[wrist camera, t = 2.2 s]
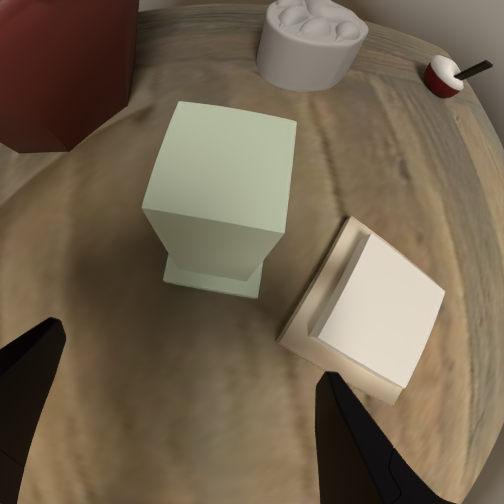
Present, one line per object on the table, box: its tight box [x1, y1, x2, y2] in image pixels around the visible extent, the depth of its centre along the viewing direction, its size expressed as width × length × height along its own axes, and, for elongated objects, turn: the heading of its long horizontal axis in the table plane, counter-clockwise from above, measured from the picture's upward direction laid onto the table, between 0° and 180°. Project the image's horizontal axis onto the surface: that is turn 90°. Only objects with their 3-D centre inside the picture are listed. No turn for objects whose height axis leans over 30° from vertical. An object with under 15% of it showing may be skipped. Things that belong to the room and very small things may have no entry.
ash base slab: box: [276, 216, 444, 407], centre depth 23 cm, size 12×12×2 cm
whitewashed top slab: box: [309, 233, 445, 388], centre depth 21 cm, size 9×9×2 cm
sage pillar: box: [141, 101, 297, 299], centre depth 17 cm, size 7×7×13 cm
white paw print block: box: [256, 0, 368, 91], centre depth 25 cm, size 10×13×9 cm
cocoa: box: [424, 55, 493, 98], centre depth 27 cm, size 10×6×12 cm, turn 157°
